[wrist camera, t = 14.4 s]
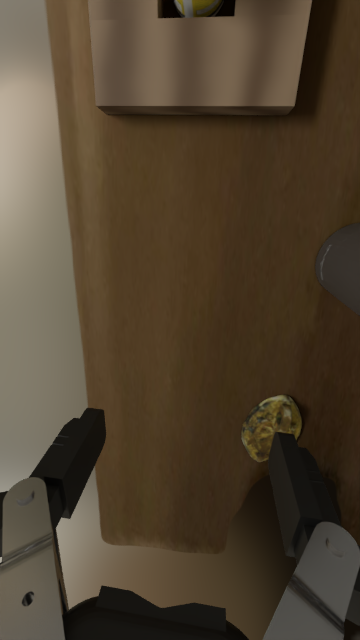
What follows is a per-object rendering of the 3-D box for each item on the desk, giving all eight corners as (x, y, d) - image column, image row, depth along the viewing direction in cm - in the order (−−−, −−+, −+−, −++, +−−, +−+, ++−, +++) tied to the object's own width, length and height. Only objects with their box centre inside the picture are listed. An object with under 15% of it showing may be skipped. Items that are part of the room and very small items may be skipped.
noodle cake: (282, 456, 50) (309, 394, 44) (291, 481, 46) (323, 415, 40) (233, 451, 50) (253, 387, 43) (238, 475, 46) (261, 408, 39)
